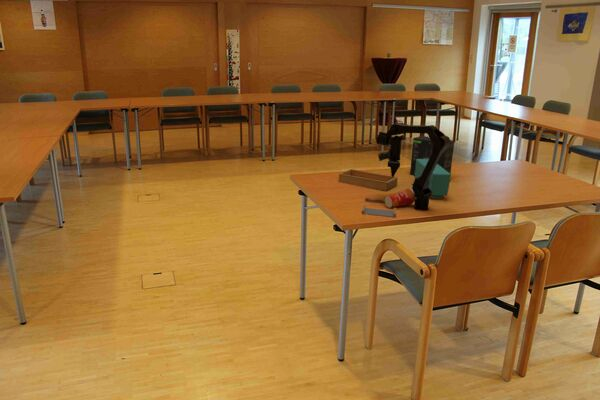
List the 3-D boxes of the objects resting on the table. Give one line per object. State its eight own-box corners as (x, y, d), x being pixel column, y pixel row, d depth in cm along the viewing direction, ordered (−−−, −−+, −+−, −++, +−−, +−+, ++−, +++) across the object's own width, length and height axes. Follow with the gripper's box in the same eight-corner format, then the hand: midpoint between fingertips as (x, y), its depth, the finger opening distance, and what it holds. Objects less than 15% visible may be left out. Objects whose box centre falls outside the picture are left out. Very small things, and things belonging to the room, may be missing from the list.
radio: (449, 200, 279) (453, 174, 274) (430, 200, 278) (433, 173, 274) (430, 183, 311) (433, 158, 307) (413, 182, 310) (415, 158, 306)
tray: (338, 182, 307) (339, 173, 305) (350, 177, 319) (351, 168, 317) (386, 192, 291) (387, 182, 289) (396, 186, 303) (397, 177, 301)
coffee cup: (383, 191, 264) (406, 185, 271) (383, 206, 268) (405, 200, 275) (394, 197, 258) (417, 191, 264) (393, 212, 261) (416, 205, 268)
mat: (395, 211, 259) (396, 208, 258) (395, 217, 250) (396, 213, 250) (363, 208, 261) (363, 204, 261) (361, 214, 253) (361, 210, 252)
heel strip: (395, 203, 271) (396, 200, 270) (395, 204, 269) (396, 201, 269) (365, 200, 273) (365, 197, 273) (365, 201, 272) (365, 198, 272)
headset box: (408, 174, 328) (413, 134, 320) (418, 171, 337) (422, 132, 329) (441, 182, 314) (447, 140, 306) (450, 178, 323) (455, 137, 315)
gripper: (380, 142, 277) (378, 171, 282) (378, 150, 260) (376, 179, 265) (401, 144, 275) (398, 172, 280) (401, 151, 258) (398, 181, 263)
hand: (392, 176), depth 272 cm, fingers closed
